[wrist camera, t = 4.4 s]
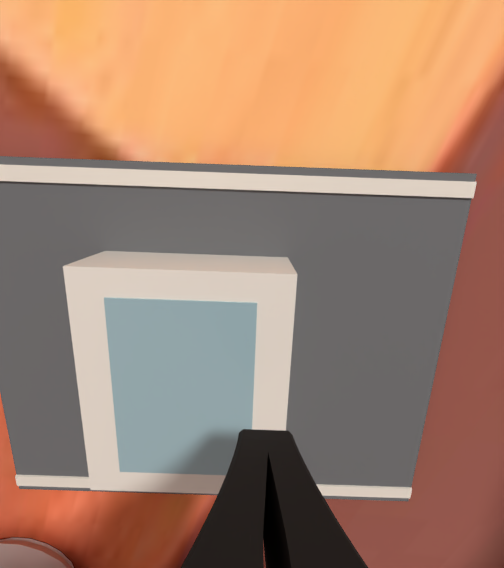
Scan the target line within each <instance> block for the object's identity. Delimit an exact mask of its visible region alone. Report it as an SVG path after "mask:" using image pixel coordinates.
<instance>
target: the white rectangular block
mask: <svg viewBox="0 0 504 568" xmlns="http://www.w3.org/2000/svg"><path fill="white" fill-rule="evenodd" d="M63 272H64V280H65V288H66V296H67V304H68V312H69V320H70V328H71V336H72V344H73V352H74V360H75V369H76V377H77V385H78V393H79V401H80V409H81V417H82V425H83V433H84V441H85V449H86V457H87V465H88V473H89V481H90V490H108V491H139V492H170V493H201V494H218V493H219V491H220V488H221V486H222V484H223V481H224V479H225V477H226V474H227V472H228V469H229V466H230V463H231V461H232V458H233V455H234V452H235V448H236V445H237V441H238V435H239V432H240V431H242V430H243V429H253V430H284V431H286V421H287V408H288V394H289V381H290V367H291V354H292V341H293V327H294V314H295V301H296V287H297V273H296V271H295V269H294V267H293V266H292V264H291V262H290V260H289V259H288V257H264V256H236V255H208V254H179V253H151V252H123V251H103V252H101V253H98V254H95V255H92V256H89V257H87V258H84V259H81V260H78V261H76V262H73V263H70V264H67V265H64V266H63Z"/></svg>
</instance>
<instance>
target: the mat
mask: <svg viewBox="0 0 504 568" xmlns="http://www.w3.org/2000/svg"><path fill="white" fill-rule="evenodd" d="M476 175H477V174H468V173H441V172H413V171H386V170H359V169H332V168H305V167H277V166H250V165H223V164H196V163H169V162H142V161H114V160H87V159H60V158H33V157H6V156H0V393H1V398H2V403H3V408H4V413H5V418H6V424H7V429H8V434H9V439H10V444H11V449H12V454H13V459H14V464H15V469H16V474H17V475H16V476H15V478H16V483H17V486H19V489H43V490H74V491H105V492H136V493H168V494H199V495H218V494H201V493H170V492H139V491H108V490H90V481H89V473H88V465H87V457H86V449H85V441H84V433H83V425H82V417H81V409H80V401H79V393H78V385H77V377H76V369H75V360H74V352H73V344H72V336H71V328H70V320H69V312H68V304H67V296H66V288H65V280H64V272H63V266H64V265H67V264H70V263H73V262H76V261H78V260H81V259H84V258H87V257H89V256H92V255H95V254H98V253H101V252H103V251H123V252H151V253H179V254H208V255H236V256H264V257H288V259H289V260H290V262H291V264H292V266H293V267H294V269H295V271H296V273H297V287H296V301H295V314H294V327H293V341H292V354H291V367H290V381H289V394H288V408H287V421H286V431H289V432H290V433H291V434H292V435H293V438H294V440H295V443H296V445H297V447H298V449H299V452H300V454H301V456H302V458H303V460H304V462H305V464H306V466H307V468H308V470H309V472H310V474H311V476H312V478H313V479H314V481H315V483H316V485H317V487H318V488H319V490H320V492H321V494H322V495H323V497H324V499H355V500H387V501H408V500H409V498H410V496H411V492H412V488H411V485H412V481H413V476H414V471H415V466H416V462H417V457H418V452H419V447H420V442H421V438H422V433H423V428H424V423H425V418H426V414H427V409H428V404H429V399H430V395H431V390H432V385H433V380H434V375H435V371H436V366H437V361H438V356H439V352H440V347H441V342H442V337H443V332H444V328H445V323H446V318H447V313H448V309H449V304H450V299H451V294H452V289H453V285H454V280H455V275H456V270H457V266H458V261H459V256H460V251H461V246H462V242H463V237H464V232H465V227H466V223H467V218H468V213H469V208H470V203H471V199H472V198H473V197H474V192H475V188H476V183H477V182H475V179H476Z"/></svg>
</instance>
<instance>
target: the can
mask: <svg viewBox="0 0 504 568" xmlns="http://www.w3.org/2000/svg"><path fill="white" fill-rule="evenodd" d="M0 568H74V566H73V564H72V562H71V561H70V560H69V559H68V558H67V557H66V556H65V555H64V554H63V553H62V552H61V551H59V550H57V549H55V548H54V547H52V546H50V545H48V544H47V543H44V542H40V541H37V540H34V539H30V538H15V537H13V538H7V539H2V540H0Z"/></svg>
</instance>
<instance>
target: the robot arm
mask: <svg viewBox="0 0 504 568" xmlns="http://www.w3.org/2000/svg"><path fill="white" fill-rule="evenodd" d="M263 540H264V551H265V561H266V568H368V567H367V565H366V564H365V562H364V561H363V559H362V558H361V556H360V555H359V553H358V552H357V551H356V549H355V547H354V546H353V544H352V543H351V541H350V540H349V538H348V537H347V535H346V534H345V532H344V530H343V529H342V527H341V526H340V524H339V522H338V521H337V519H336V518H335V516H334V514H333V513H332V511H331V509H330V508H329V506H328V504H327V502H326V501H325V499H324V497H323V495H322V494H321V492H320V490H319V488H318V487H317V485H316V483H315V481H314V479H313V478H312V476H311V474H310V472H309V470H308V468H307V466H306V464H305V462H304V460H303V458H302V456H301V454H300V452H299V449H298V447H297V445H296V443H295V440H294V438H293V435H292V434H291V433H290V432H289V431H284V430H253V429H243V430H242V431H240V432H239V435H238V441H237V445H236V448H235V452H234V455H233V458H232V461H231V463H230V466H229V469H228V472H227V474H226V477H225V479H224V481H223V484H222V486H221V488H220V491H219V493H218V496H217V498H216V500H215V502H214V504H213V507H212V509H211V511H210V513H209V515H208V517H207V519H206V521H205V523H204V525H203V527H202V529H201V531H200V533H199V535H198V537H197V539H196V541H195V543H194V545H193V546H192V548H191V550H190V552H189V554H188V556H187V557H186V559H185V561H184V563H183V565H182V566H181V568H264V567H263Z"/></svg>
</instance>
